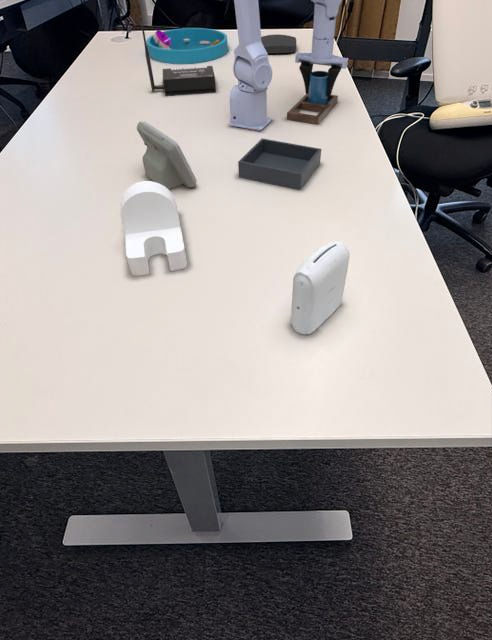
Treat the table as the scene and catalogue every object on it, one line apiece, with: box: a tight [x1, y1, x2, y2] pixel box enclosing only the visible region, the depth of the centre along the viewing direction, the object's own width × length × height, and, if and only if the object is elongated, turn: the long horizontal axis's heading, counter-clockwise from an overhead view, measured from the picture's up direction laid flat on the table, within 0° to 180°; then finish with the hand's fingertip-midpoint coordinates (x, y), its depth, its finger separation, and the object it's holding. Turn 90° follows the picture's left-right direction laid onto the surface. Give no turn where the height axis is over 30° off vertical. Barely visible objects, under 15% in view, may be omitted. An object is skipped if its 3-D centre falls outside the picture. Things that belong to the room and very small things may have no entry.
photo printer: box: [290, 240, 351, 336], centre depth 65 cm, size 10×4×12 cm, turn 140°
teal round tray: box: [146, 27, 229, 65], centre depth 161 cm, size 30×30×6 cm
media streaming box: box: [261, 34, 297, 54], centre depth 162 cm, size 15×15×3 cm
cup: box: [308, 70, 328, 105], centre depth 124 cm, size 6×6×8 cm
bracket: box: [120, 180, 188, 277], centre depth 79 cm, size 19×10×11 cm, turn 12°
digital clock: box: [136, 121, 197, 191], centre depth 96 cm, size 16×9×11 cm, turn 26°
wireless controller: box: [141, 24, 217, 97], centre depth 132 cm, size 20×14×17 cm
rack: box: [286, 93, 339, 125], centre depth 124 cm, size 9×17×2 cm, turn 156°
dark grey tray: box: [237, 138, 322, 191], centre depth 100 cm, size 15×13×4 cm
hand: (318, 94), depth 125 cm, fingers closed on cup, 6 cm apart
